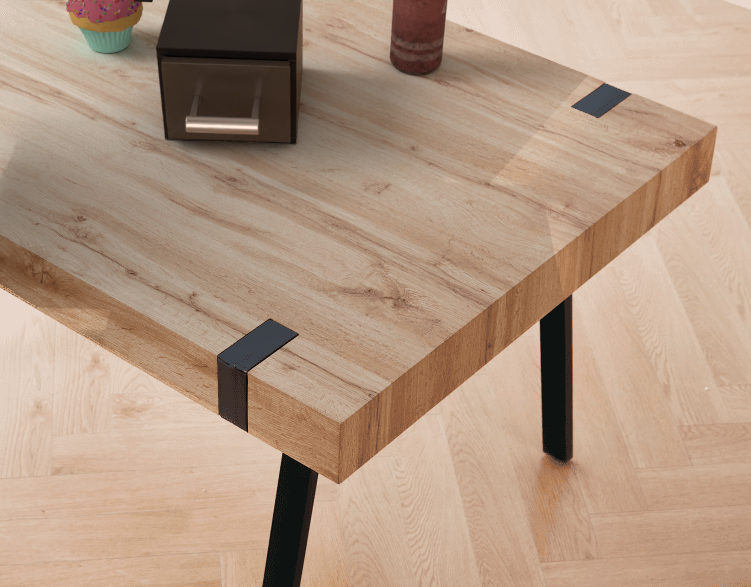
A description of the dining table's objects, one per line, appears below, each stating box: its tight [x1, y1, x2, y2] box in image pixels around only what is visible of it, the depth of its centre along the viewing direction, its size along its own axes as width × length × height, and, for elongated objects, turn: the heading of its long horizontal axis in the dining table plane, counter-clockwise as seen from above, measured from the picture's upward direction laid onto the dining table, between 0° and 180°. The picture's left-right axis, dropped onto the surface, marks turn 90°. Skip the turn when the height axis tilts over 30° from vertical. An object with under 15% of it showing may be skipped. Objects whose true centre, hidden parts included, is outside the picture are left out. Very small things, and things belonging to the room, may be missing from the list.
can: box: [389, 0, 448, 76], centre depth 122 cm, size 6×6×14 cm
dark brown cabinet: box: [155, 0, 304, 145], centre depth 115 cm, size 16×14×11 cm
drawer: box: [161, 56, 291, 142], centre depth 112 cm, size 20×13×9 cm, turn 1°
